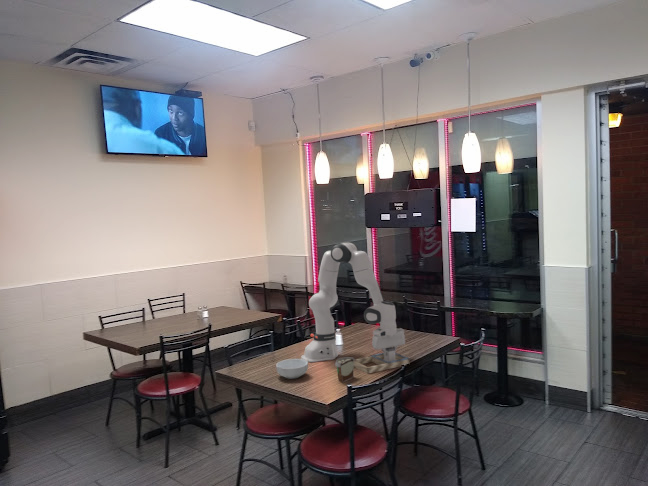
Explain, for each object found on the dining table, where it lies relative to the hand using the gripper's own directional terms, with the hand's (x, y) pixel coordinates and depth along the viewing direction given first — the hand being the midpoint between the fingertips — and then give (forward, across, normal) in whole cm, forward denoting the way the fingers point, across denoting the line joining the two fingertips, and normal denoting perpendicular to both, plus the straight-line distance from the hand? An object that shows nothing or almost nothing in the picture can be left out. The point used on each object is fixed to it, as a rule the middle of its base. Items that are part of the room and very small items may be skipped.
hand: (389, 354), depth 270 cm
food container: (+5, +34, +8) cm, 36 cm away
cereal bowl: (+5, +54, -11) cm, 56 cm away
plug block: (+3, 0, 0) cm, 3 cm away
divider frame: (+5, +6, 0) cm, 8 cm away
